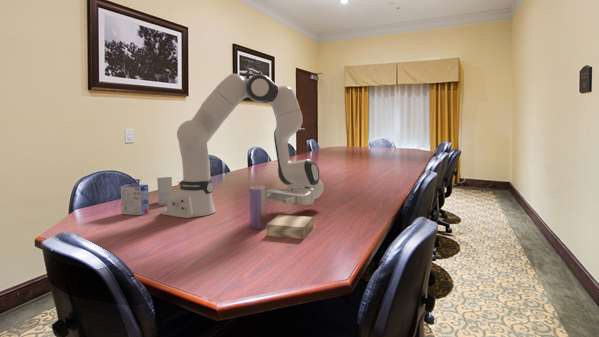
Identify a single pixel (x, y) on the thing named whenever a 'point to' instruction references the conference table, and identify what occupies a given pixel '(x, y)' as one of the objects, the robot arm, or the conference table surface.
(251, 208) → the beverage can
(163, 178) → the small box
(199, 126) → the robot arm
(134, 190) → the ink cartridge box
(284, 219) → the ash base block
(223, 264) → the conference table surface
